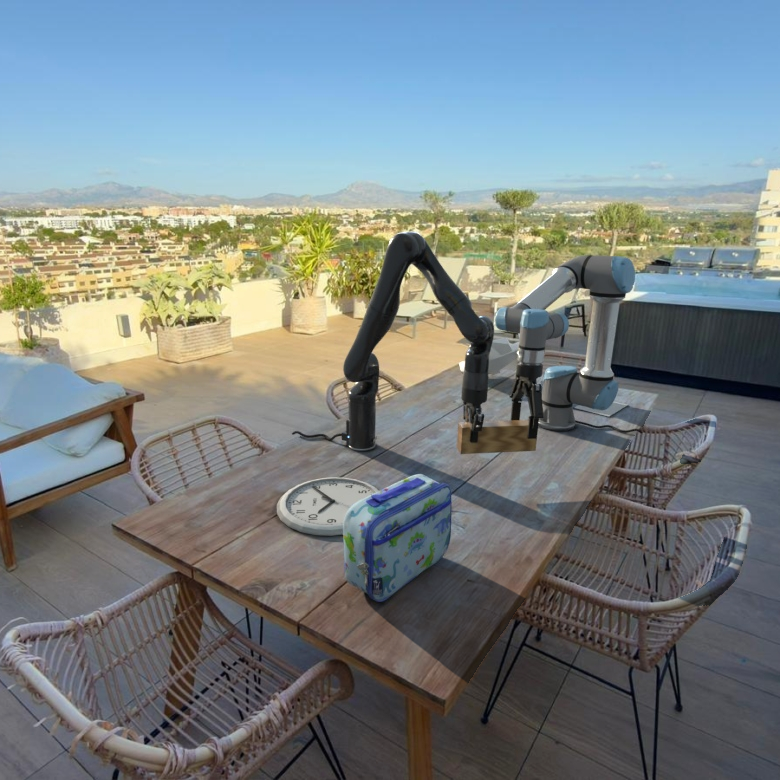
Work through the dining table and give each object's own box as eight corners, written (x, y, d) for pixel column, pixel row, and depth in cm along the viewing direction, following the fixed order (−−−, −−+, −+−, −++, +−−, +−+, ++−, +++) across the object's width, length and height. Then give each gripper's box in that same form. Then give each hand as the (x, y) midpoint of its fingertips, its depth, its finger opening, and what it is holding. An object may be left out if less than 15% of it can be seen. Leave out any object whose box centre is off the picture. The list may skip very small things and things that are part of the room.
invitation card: (608, 416, 214) (573, 407, 224) (608, 416, 214) (573, 408, 224) (628, 404, 229) (594, 396, 238) (628, 405, 229) (594, 397, 238)
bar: (529, 445, 165) (532, 419, 162) (535, 450, 160) (538, 424, 158) (456, 448, 161) (458, 422, 159) (460, 454, 157) (462, 427, 154)
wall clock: (392, 527, 129) (268, 531, 127) (391, 533, 130) (269, 537, 127) (383, 473, 158) (282, 475, 155) (383, 478, 158) (282, 480, 156)
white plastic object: (480, 418, 266) (459, 395, 242) (461, 346, 288) (441, 318, 264) (550, 394, 254) (536, 368, 229) (526, 321, 276) (510, 289, 251)
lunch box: (371, 615, 102) (372, 521, 96) (337, 588, 110) (335, 499, 103) (455, 559, 120) (460, 477, 114) (420, 540, 127) (423, 461, 121)
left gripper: (456, 378, 160) (453, 430, 165) (469, 392, 146) (465, 448, 151) (480, 378, 161) (476, 429, 166) (495, 392, 147) (490, 447, 152)
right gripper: (503, 353, 165) (497, 416, 171) (535, 373, 141) (527, 446, 148) (525, 352, 166) (519, 415, 172) (561, 373, 142) (552, 445, 149)
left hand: (471, 438), depth 159 cm, fingers closed on bar, 4 cm apart
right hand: (523, 430), depth 160 cm, fingers open, 13 cm apart
